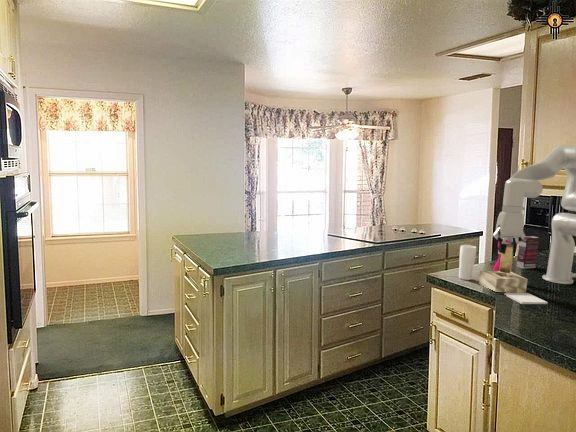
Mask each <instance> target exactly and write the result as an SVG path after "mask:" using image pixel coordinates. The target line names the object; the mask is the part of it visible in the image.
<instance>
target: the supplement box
mask: <svg viewBox="0 0 576 432" xmlns="http://www.w3.org/2000/svg"><path fill="white" fill-rule="evenodd" d="M539 245H540V237H538V236H534V235H531V236H530V235H527V236H526V235H525V237H524V238H523V239H521V241H519V243H518V251H517V252H518V253H517V259H516V260H517V261H516V267H518V268H520V269H535V268H536V267H537V262H538V260H537V259H538V252H539V251H538V250H539Z"/></svg>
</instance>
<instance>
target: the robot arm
mask: <svg viewBox="0 0 576 432" xmlns="http://www.w3.org/2000/svg"><path fill="white" fill-rule="evenodd" d="M563 169H564V170H565V174H566V183H565V187H564V190H563V194H562V198H561V201H560V202H561V204H560V205H561V207H562V209H564V210H567V211H572V212H576V145H575V144H574V145H573V144H571V145H570V144H569V145H568V144H562V145H558V146H555V148H553V149H552V150H551V151H550V152H549V153H548V154H547V155H545V156H544V157H542V159H541V160H540V161H539V162H536V163H533V164H531V165H528V166H525V167H524V168H521V169H519V170H518V171H516V172H515V173H514V174H513V175H511V176H510V178H509V179H507V180H506V181H505V182H504V183H505V184H504V190H503V199H502V206H501V207H502V208H501V211H500V212H499V214H498V216H497V220H496V224H495V231H494V232H493V234H492V236H493V238H495V239H496V241H497V243H499V248H498V250H499V252H501V253H505V246H506V245H505V244H504V243H505V240H506V237H508V238H511V243H512V244H514V249H513V254H516V253H517V248H518V247H517V246H518V245H519V243H520V241H521V239H523V238H524V237H525V236H526V234H525V232H524V223H525V222H524V213H523V211H525V209H526V208H525V207H524V199H525V198H527V199H528V198H529V199H535V198H537V197H540V195H541V194H542V193H543V189H544V188H543V184H542V183H541V182H540V181H543V180H548V179H552V178H554V177H556V176H557V174H558V173H560V172H561V171H562V170H563ZM550 226H551V242H550V248H549V255H548V261H547V269H546V274H543V275H542V277H541V278H542V279H543V280H545V281H547V282H550V283H555V284H561V285H572V284H573V283H574V279H575V278H576V273H573V272H572V266H573V261H574V253H575V249H576V244H575V239H574V238H573V236H575V237H576V213H575V214H574V213H569V212H558V213H556V214H554V216H553V217H552V219H551V225H550Z"/></svg>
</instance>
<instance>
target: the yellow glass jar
mask: <svg viewBox="0 0 576 432" xmlns="http://www.w3.org/2000/svg"><path fill="white" fill-rule="evenodd" d="M504 244H505V245H506V246H505V253H501V260H500V269H499V271H500V272H503V273H511V272H512V264H513V256H514V253H513V249H514V244H512V242H511V243H504Z"/></svg>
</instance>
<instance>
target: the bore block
mask: <svg viewBox="0 0 576 432" xmlns="http://www.w3.org/2000/svg"><path fill="white" fill-rule="evenodd" d="M478 279H479V280H478V285H479V284H480V285H479V286H481V285H482V286H481V287H483V286H484V287H483V288H485V287H486V288H485V289H487V288H489V289H491V290H493V291H495V292H506V293H527V286H528V280H529V279H528V278H526V277H523V276H522V275H519V274H518V273H514V272H513V271H511V273H503V272H500V271H493V270H479V277H478ZM489 289H488V290H489Z"/></svg>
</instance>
